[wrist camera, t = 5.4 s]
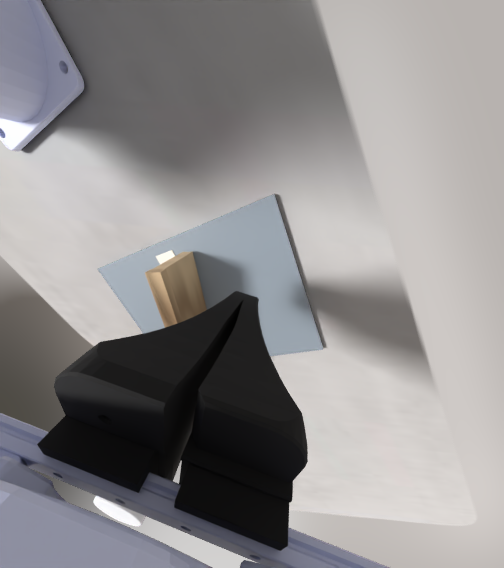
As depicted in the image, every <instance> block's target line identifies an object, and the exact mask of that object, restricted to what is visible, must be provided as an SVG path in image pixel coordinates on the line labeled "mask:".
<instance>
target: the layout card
mask: <svg viewBox="0 0 504 568" xmlns="http://www.w3.org/2000/svg"><path fill="white" fill-rule="evenodd" d="M192 251H193V256H194V260H195V264H196V268H197V272H198V276H199V280H200V284H201V288H202V292H203V296H204V300H205V304H206V308H207V309H209V308H211V307H213V306H214V305H216V304H217V303H219V302H221V301H222V300H224V299H225V298H226V297H228V296H229V295H231V294H232V293H233V292H235V291H239V292H242V293H245V294H248V295H251V296H255V297H258V299H259V302H258V312H259V320H260V325H261V330H262V334H263V338H264V341H265V344H266V347H267V350H268V352H269V355H270V356H276V355H283V354H291V353H299V352H307V351H315V350H323V345H322V342H321V339H320V336H319V333H318V330H317V326H316V323H315V320H314V317H313V314H312V311H311V307H310V304H309V301H308V298H307V295H306V292H305V288H304V285H303V282H302V279H301V276H300V273H299V270H298V266H297V263H296V260H295V257H294V254H293V251H292V247H291V244H290V241H289V238H288V235H287V232H286V228H285V225H284V222H283V219H282V216H281V213H280V209H279V206H278V203H277V200H276V197H275V194H273V195H271V196H268V197H266V198H263V199H261V200H259V201H256V202H254V203H252V204H249V205H247V206H245V207H242V208H240V209H238V210H235V211H233V212H230V213H228V214H226V215H223V216H221V217H219V218H216V219H214V220H212V221H209V222H207V223H204V224H202V225H200V226H197V227H195V228H193V229H190V230H188V231H186V232H183V233H181V234H179V235H176V236H174V237H171V238H169V239H167V240H164V241H162V242H160V243H157V244H155V245H153V246H150V247H148V248H145V249H143V250H141V251H138V252H136V253H134V254H131V255H129V256H127V257H124V258H122V259H120V260H117V261H115V262H112V263H110V264H108V265H105V266H103V267H101V268H98V271H99V272H100V273H101V275H102V276H103V278H104V279H105V280H106V282H107V283H108V285H109V286H110V287H111V289H112V290H113V292H114V293H115V294H116V296H117V297H118V299H119V300H120V301H121V303H122V304H123V306H124V307H125V308H126V310H127V311H128V313H129V314H130V315H131V317H132V318H133V320H134V321H135V322H136V324H137V325H138V327H139V328H140V329H141V331H142V332H143V334H144V333H148V332H152V331H155V330H159V329H162V328H165V327H164V324H163V321H162V318H161V316H160V313H159V310H158V308H157V305H156V302H155V300H154V297H153V294H152V291H151V289H150V286H149V283H148V281H147V278H146V275H145V272H147V271H148V270H150V269H153V268H155V267H157V266H159V265H160V264H162V263H164V262H166V261H167V260H169V259H171V258H173V257H175V256H176V255H178V254H180V253H182V252H192Z"/></svg>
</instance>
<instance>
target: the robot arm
mask: <svg viewBox="0 0 504 568" xmlns="http://www.w3.org/2000/svg"><path fill="white" fill-rule="evenodd" d="M67 67H68V72H67ZM83 90H84V81H83V78H82V76H81V74H80V72H79V70H78V69H77V67H76V65H75V63H74V61H73V59H72V57H71V56H70V54H69V52H68V50H67V48H66V46H65V44H64V43H63V41H62V39H61V37H60V35H59V33H58V31H57V30H56V28H55V26H54V24H53V22H52V20H51V18H50V17H49V15H48V13H47V11H46V9H45V7H44V5H43V4H42V2H41V0H0V139H1V141H2V142H3V144H4V145H5V146H6V147H7V148H8V149H9V150H12V151H20V150H21V149H22V148H23V147H25V146H26V145H27V144H28V143H29V142H30V141H31V140H32V139H33V138H34V137H35V136H36V135H37V134H38V133H39V132H40V131H42V130H43V129H44V128H45V127H46V126H47V125H48V124H49V123H50V122H51V121H52V120H53V119H54V118H55V117H56V116H57V115H59V114H60V113H61V112H62V111H63V110H64V109H65V108H66V107H67V106H68V105H69V104H70V103H71V102H72V101H73V100H74V99H76V98H77V97H78V96H79V95H80V94H81V93H82V92H83ZM258 302H259V299H258V297H255V296H251V295H248V294H245V293H242V292H239V291H235V292H233V293H232V294H231V295H229V296H228V297H226V298H225V299H224V300H222V301H221V302H219V303H217V304H216V305H214V306H213V307H211V308H209V309H207V310H206V311H204V312H202V313H200V314H198V315H196V316H194V317H192V318H190V319H187V320H185V321H183V322H180V323H177V324H174V325H171V326H168V327H165V328H162V329H159V330H155V331H152V332H148V333H144V334H140V335H135V336H131V337H126V338H120V339H115V340H109V341H103V342H100V343H98V344H97V345H96V346H94V347H93V348H92V349H91V350H89V351H88V352H86V353H85V354H84V355H83V356H81V357H80V358H79V359H78V360H76V361H75V362H74V363H73V364H72V365H70V366H69V367H68V368H67V369H65V370H64V371H63V372H62V373H60V374H59V375H58V376H57V377H56V379H55V384H54V388H55V391H56V394H57V397H58V399H59V401H60V403H61V406H62V408H63V410H64V412H65V414H66V416H65V417H64V418H63V419H62V420H61V421H60V422H59V423H58V424H57V425H56V426H55V427H54V428H53V429H52V430H51V431H50V432H47V431H44V430H42V429H39V428H37V427H34V426H32V425H29V424H27V423H24V422H22V421H19V420H17V419H14V418H12V417H9V416H7V415H4V414H2V413H0V568H212V567H210V566H208V565H206V564H204V563H202V562H200V561H198V560H196V559H194V558H192V557H190V556H188V555H186V554H184V553H182V552H180V551H178V550H176V549H174V548H172V547H169V546H168V545H166V544H164V543H162V542H160V541H157V540H155V539H153V538H151V537H149V536H146V535H144V534H142V533H140V532H138V531H135V530H133V529H131V528H129V527H127V526H124V525H122V524H120V523H117V522H115V521H113V520H110V519H108V518H105V517H103V516H100V515H98V514H96V513H93V512H91V511H88V510H86V509H83V508H81V507H78V506H75V505H73V504H70V503H67V502H66V501H65V500H64V499H63V498H62V497H61V496H60V495H59V494H58V493H57V491H56V490H55V489H54V486H53V483H52V481H51V480H49V479H47V478H45V477H44V476H42V475H40V474H39V473H37V472H35V471H34V470H36V471H39V472H41V473H44V474H46V475H49V476H51V477H53V478H56V479H58V480H61V481H63V482H65V483H68V484H70V485H72V486H75V487H77V488H80V489H82V490H84V491H87V492H89V493H92V494H94V495H96V496H99V497H101V498H104V499H106V500H108V501H111V502H113V503H116V504H118V505H120V506H123V507H125V508H128V509H130V510H133V511H135V512H137V513H140V514H142V515H145V516H147V517H149V518H152V519H154V520H157V521H159V522H161V523H164V524H166V525H169V526H171V527H173V528H176V529H178V530H181V531H183V532H185V533H188V534H190V535H193V536H195V537H197V538H200V539H202V540H205V541H207V542H209V543H212V544H214V545H217V546H219V547H222V548H224V549H226V550H229V551H231V552H233V553H236V554H238V555H241V556H243V557H245V558H248V559H251V560H253V561H255V562H257V563H255V562H251V561H246V560H244V561H243V562H242V563H241V566H240V568H389V567H387V566H384V565H381V564H379V563H377V562H374V561H371V560H369V559H366V558H364V557H361V556H359V555H356V554H354V553H351V552H349V551H346V550H344V549H341V548H339V547H336V546H334V545H331V544H329V543H326V542H324V541H321V540H319V539H316V538H314V537H311V536H308V535H306V534H304V533H301V532H298V531H296V530H293V529H291V528H288V522H289V502H291V501H292V491H293V480H294V479H295V478H296V477H297V475H298V474H299V473H300V472H301V471H302V470H303V469H304V468H305V466H306V464H307V462H308V460H307V454H308V452H307V440H306V433H305V427H304V422H303V417H302V413H301V411H300V410H299V408H298V407H297V405H296V404H295V402H294V401H293V399H292V397H291V396H290V394H289V393H288V391H287V389H286V388H285V386H284V384H283V382H282V380H281V379H280V377H279V374H278V372H277V370H276V368H275V366H274V364H273V362H272V360H271V357H270V355H269V352H268V350H267V347H266V344H265V341H264V338H263V334H262V330H261V325H260V320H259V312H258ZM181 460H182V465H181V473H180V482H179V484H178V483H175V482H173V479H174V476H175V473H176V471H177V468H178V466H179V463H180V461H181ZM30 468H32V469H34V470H32V469H30ZM259 563H260V564H259Z"/></svg>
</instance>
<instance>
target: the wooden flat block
mask: <svg viewBox="0 0 504 568" xmlns="http://www.w3.org/2000/svg"><path fill="white" fill-rule="evenodd" d="M145 275H146V278H147V281H148V283H149V286H150V289H151V291H152V294H153V297H154V300H155V302H156V305H157V308H158V310H159V313H160V316H161V318H162V321H163V324H164V327H168V326H171V325H174V324H177V323H180V322H183V321H185V320H187V319H190V318H192V317H194V316H196V315H198V314H200V313H202V312H204V311H206V310H207V308H206V304H205V300H204V296H203V292H202V288H201V284H200V280H199V276H198V272H197V268H196V264H195V260H194V256H193V251H192V252H182V253H180V254H178V255H176V256H175V257H173V258H171V259H169V260H167V261H166V262H164V263H162V264H160V265H159V266H157V267H155V268H153V269H150V270H148V271H147V272H145Z"/></svg>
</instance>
